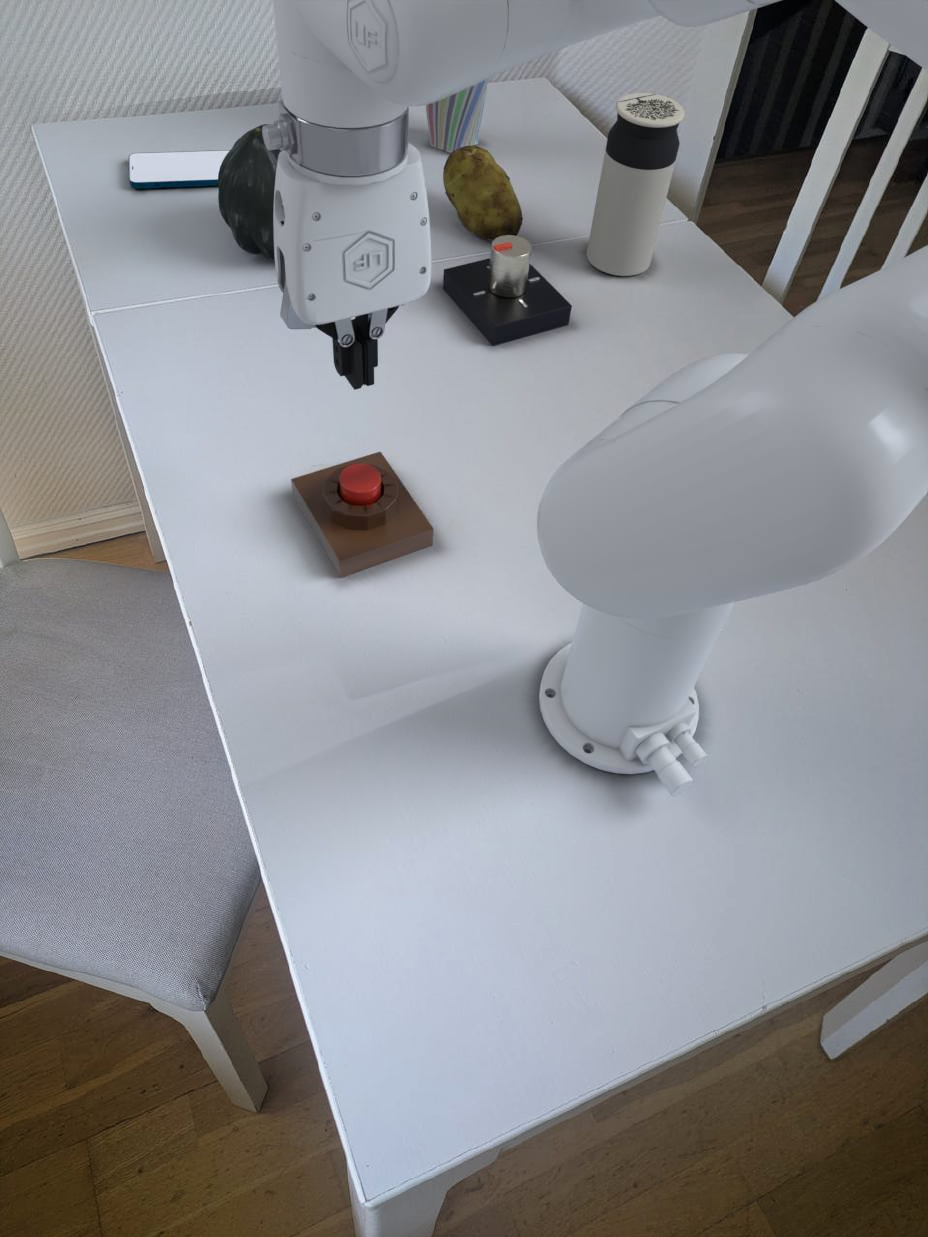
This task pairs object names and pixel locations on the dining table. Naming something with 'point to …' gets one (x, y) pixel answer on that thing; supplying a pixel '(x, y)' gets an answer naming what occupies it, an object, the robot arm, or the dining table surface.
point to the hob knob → (509, 266)
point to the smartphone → (175, 168)
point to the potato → (481, 193)
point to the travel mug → (634, 183)
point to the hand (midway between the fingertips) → (356, 376)
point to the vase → (457, 118)
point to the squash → (249, 192)
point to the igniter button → (360, 485)
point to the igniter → (362, 518)
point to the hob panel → (505, 303)
